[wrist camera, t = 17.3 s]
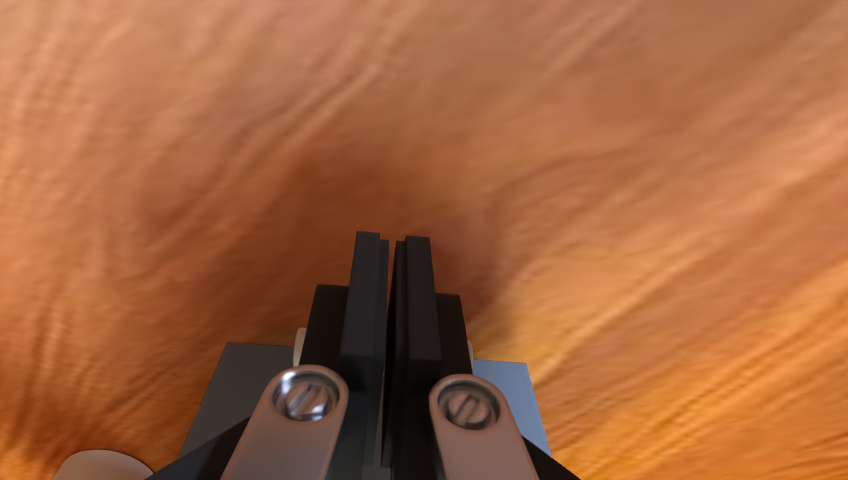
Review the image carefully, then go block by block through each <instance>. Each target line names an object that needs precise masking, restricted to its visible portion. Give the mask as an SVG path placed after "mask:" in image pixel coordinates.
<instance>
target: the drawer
mask: <svg viewBox="0 0 848 480" xmlns="http://www.w3.org/2000/svg"><path fill="white" fill-rule="evenodd" d="M306 330H307V328H302V327H300V328H299V329H298V331H297V334H296V339H295V345H294V347H290V346H276V345H262V344H248V343H234V342H227V344H226V346H225V348H224V351H223V353H222V355H221V358H220V360H219V362H218V365H217V367H216V369H215V372H214V374H213V376H212V379H211V381H210V383H209V386H208V388H207V390H206V393H205V395H204V397H203V400H202V402H201V404H200V407H199V409H198V411H197V414H196V416H195V418H194V421H193V423H192V425H191V428H190V430H189V432H188V435H187V437H186V440H185V442H184V444H183V447H182V449H181V451H180V454H179V456H178V458H177V460H178V459H179V458H181V457H183V456H184V455H186V454H188V453H189V452H191V451H193V450H194V449H196V448H198V447H199V446H201V445H203V444H204V443H206V442H208V441H210V440H211V439H213V438H215V437H216V436H218V435H220V434H221V433H223V432H225V431H226V430H228V429H230V428H231V427H233V426H235V425H236V424H238V423H240V422H241V421H243V420H245V419H246V418H248V417H250V416H251V415H252V414H253V412H254V410H255V408H256V406H257V404H258V402H259V400H260V398H261V396H262V394H263V392H264V390H265V388H266V387H267V385H268V384H269V382H270V381H271V380H272V378H274V377H275V376H276V375H278V374H279V373H280V372H282V371H284V370H286V369H289V368H291V367H294V366H298V364H299V360H300V356H301V351H302V347H303V343H304V338H305V334H306ZM467 341H468V347H469V353H470V359H471V365H472V371H473V375H474V376H477V377H481V378H483V379H485V380H487V381H489V382H490V383H492V384H494V385H495V386H496V387H497V388H498V389H499V390H500V391H501V392H502V394H503V395H504V397H505V398H506V400H507V402H508V404H509V407H510V409H511V412H512V414H513V417H514V419H515V421H516V424H517V426H518V429H519V431H520V434H521V435H522V436H524V437H525V438H526V439H528V440H529V441H530V442H532V443H533V444H534V445H536V446H537V447H538V448H540V449H541V450H542V451H544V452H545V453H546V454H548V455H549V456H550V457H551V453H550V449H549V446H548V442H547V438H546V435H545V431H544V427H543V424H542V420H541V416H540V413H539V409H538V405H537V402H536V398H535V394H534V391H533V387H532V383H531V380H530V376H529V372H528V369H527V365H526V363H516V362H502V361H487V360H473V347H472V343H471V341H470V340H467ZM383 382H384V373H383ZM383 382H382V390H381V399H380V407H379V415H378V424H377V432H376V440H375V449H374V457H373V465H372V467H362V477H361V480H390V476H391V468H381V440H382V411H383Z"/></svg>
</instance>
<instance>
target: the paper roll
mask: <svg viewBox="0 0 848 480" xmlns="http://www.w3.org/2000/svg"><path fill="white" fill-rule="evenodd" d="M152 474H153V472H152V471H151V470H150V469H149V468H148V467H147V466H146V465H144V464H143V463H142V462H140V461H138V460H137V459H135V458H133V457H131V456H128V455H125V454H122V453H119V452H114V451H109V450H86V451H81V452H78V453H75V454H73V455H71V456H69V457H68V458H67V459H66V460H65V461H64V462H63V463H62V465H61V467H60V468H59V470H58V471H57V473H56V474H55V476H54V478H53V479H52V480H144V479H146V478H147V477H149V476H151V475H152Z"/></svg>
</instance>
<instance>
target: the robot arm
mask: <svg viewBox="0 0 848 480" xmlns="http://www.w3.org/2000/svg"><path fill="white" fill-rule="evenodd" d="M388 260H389V240H383V239H380V233H374V232H362V231H357V234H356V241H355V248H354V255H353V263H352V270H351V277H350V284H349V286H337V285H324V284H318V285H317V287H316V291H315V295H314V299H313V304H312V308H311V312H310V317H309V321H308V325H307V330H306V334H305V338H304V343H303V347H302V351H301V356H300V360H299V364H298V366H294V367H291V368H289V369H286V370H284V371H282V372H280V373H279V374H278V375H276V376H275V377H274V378H272V380H271V381H270V382H269V384H268V385H267V387H266V388H265V390H264V392H263V394H262V396H261V398H260V400H259V402H258V404H257V406H256V408H255V410H254V412H253V414H252V415H251V416H250V417H248V418H246V419H245V420H243V421H241V422H240V423H238V424H236V425H235V426H233V427H231V428H230V429H228V430H226V431H225V432H223V433H221V434H220V435H218V436H216V437H215V438H213V439H211V440H210V441H208V442H206V443H204V444H203V445H201V446H199V447H198V448H196V449H194V450H193V451H191V452H189V453H188V454H186V455H184V456H183V457H181V458H179V459H178V460H176V461H174V462H173V463H171V464H169V465H168V466H166V467H164V468H163V469H161V470H159V471H158V472H156V473H154V474H152V475H151V476H149V477H147V478H146V479H144V480H361V477H362V467H372V465H373V457H374V449H375V440H376V432H377V424H378V415H379V407H380V399H381V390H382V382H383V373H384V382H383V411H382V440H381V468H391V476H390V480H581V479H579V478H578V477H577V476H575V475H574V474H573V473H571V472H570V471H569V470H567V469H566V468H565V467H563V466H562V465H561V464H559V463H558V462H557V461H556V460H554V459H553V458H552V457H550V456H549V455H548V454H546V453H545V452H544V451H542V450H541V449H540V448H538V447H537V446H536V445H534V444H533V443H532V442H530V441H529V440H528V439H526V438H525V437H524V436H522V435H521V434H520V431H519V429H518V426H517V424H516V421H515V419H514V417H513V414H512V412H511V409H510V407H509V404H508V402H507V400H506V398H505V397H504V395H503V394H502V392H501V391H500V390H499V389H498V388H497V387H496V386H495V385H494V384H492V383H490V382H489V381H487V380H485V379H483V378H481V377H477V376H474V375H473V371H472V365H471V359H470V353H469V347H468V341H467V335H466V329H465V323H464V317H463V311H462V305H461V300H460V296H459V295H454V294H441V293H435V286H434V276H433V266H432V256H431V246H430V238H429V237H419V236H408V235H406V238H405V241H396V247H395V255H394V264H393V273H392V281H391V290H390V299H389V307H388V316H387V292H388ZM386 323H387V324H386Z"/></svg>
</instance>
